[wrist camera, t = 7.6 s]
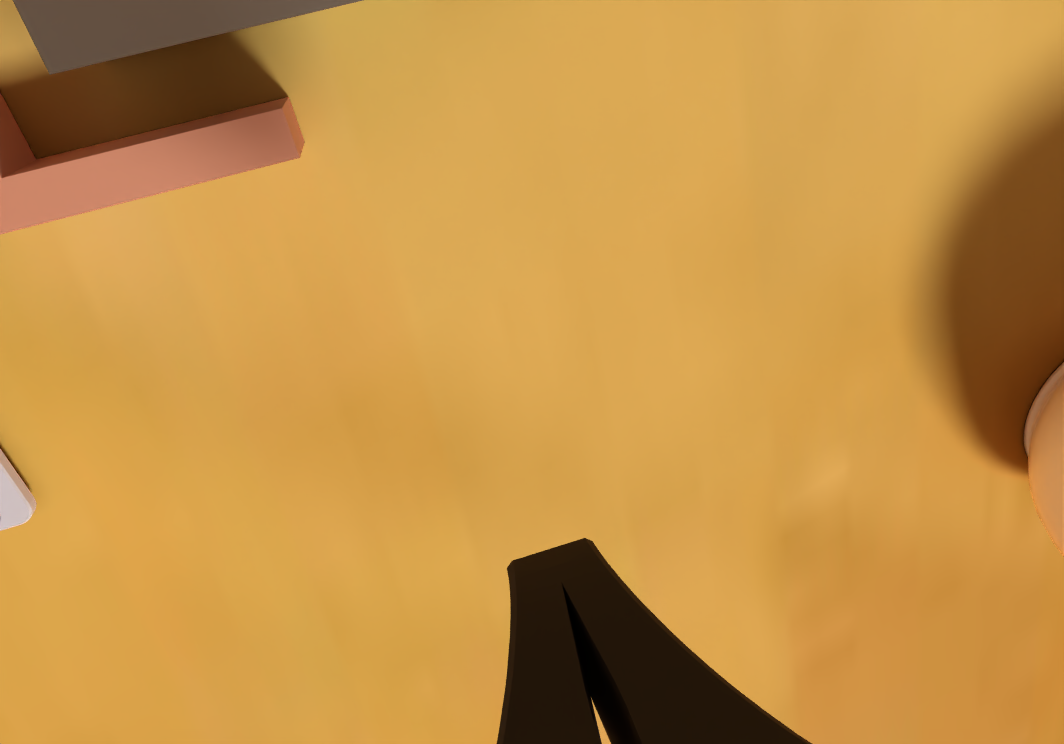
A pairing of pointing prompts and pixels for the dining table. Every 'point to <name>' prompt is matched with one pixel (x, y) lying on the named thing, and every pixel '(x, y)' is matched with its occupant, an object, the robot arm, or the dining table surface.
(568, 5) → the dining table surface
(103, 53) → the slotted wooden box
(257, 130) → the keeper bracket
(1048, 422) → the lidded jar
